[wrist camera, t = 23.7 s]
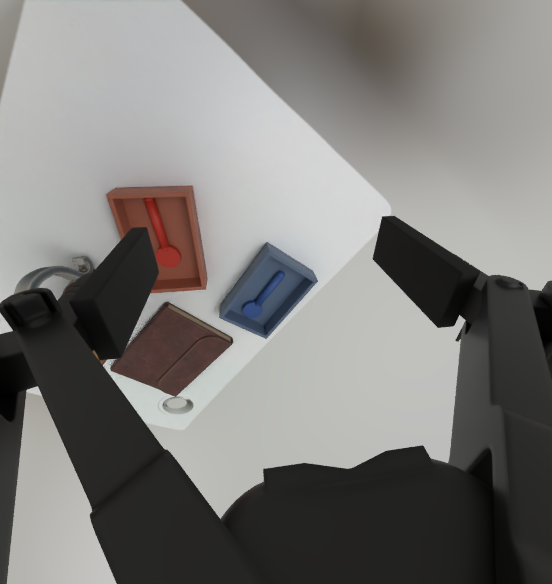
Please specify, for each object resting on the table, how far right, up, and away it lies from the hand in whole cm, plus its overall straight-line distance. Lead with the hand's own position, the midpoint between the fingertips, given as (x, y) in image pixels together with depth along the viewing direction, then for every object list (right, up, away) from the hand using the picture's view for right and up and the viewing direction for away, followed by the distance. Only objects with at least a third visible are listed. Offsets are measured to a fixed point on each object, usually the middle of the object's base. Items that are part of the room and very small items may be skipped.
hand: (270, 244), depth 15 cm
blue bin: (-2, -2, +34) cm, 34 cm away
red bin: (-17, +6, +26) cm, 31 cm away
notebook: (-21, -15, +39) cm, 47 cm away
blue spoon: (-2, -3, +34) cm, 34 cm away
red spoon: (-17, +6, +25) cm, 31 cm away
